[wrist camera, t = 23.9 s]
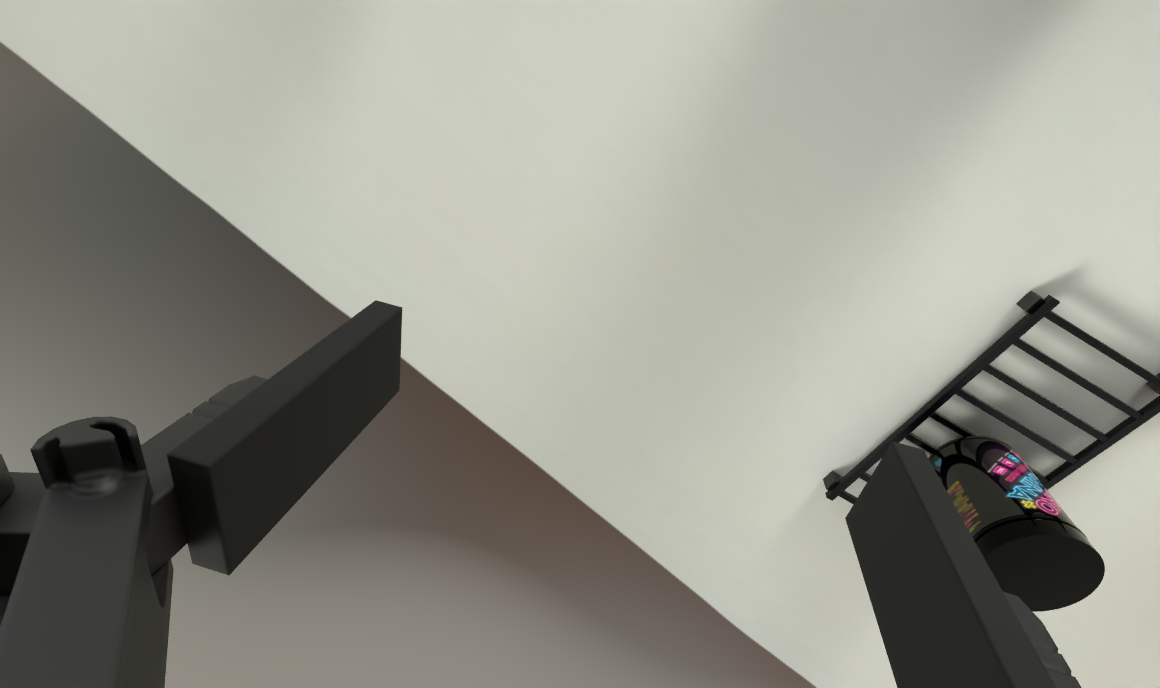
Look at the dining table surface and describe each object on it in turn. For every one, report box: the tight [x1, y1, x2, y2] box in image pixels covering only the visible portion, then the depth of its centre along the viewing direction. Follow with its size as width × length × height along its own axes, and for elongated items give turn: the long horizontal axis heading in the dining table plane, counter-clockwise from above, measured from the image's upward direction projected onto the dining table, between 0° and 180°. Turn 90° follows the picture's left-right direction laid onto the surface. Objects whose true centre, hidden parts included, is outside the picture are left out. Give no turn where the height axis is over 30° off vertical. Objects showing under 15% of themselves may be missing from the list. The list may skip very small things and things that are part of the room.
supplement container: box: [928, 436, 1105, 611], centre depth 38 cm, size 7×7×10 cm
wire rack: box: [823, 291, 1160, 504], centre depth 43 cm, size 22×13×2 cm, turn 152°
